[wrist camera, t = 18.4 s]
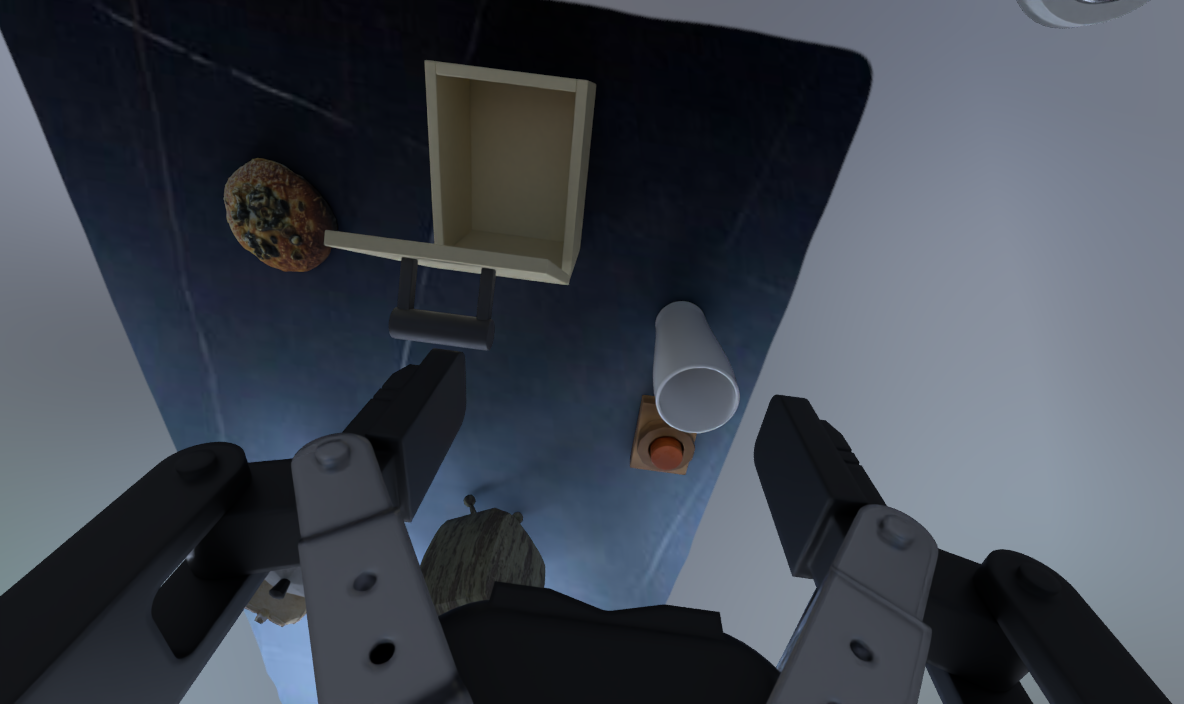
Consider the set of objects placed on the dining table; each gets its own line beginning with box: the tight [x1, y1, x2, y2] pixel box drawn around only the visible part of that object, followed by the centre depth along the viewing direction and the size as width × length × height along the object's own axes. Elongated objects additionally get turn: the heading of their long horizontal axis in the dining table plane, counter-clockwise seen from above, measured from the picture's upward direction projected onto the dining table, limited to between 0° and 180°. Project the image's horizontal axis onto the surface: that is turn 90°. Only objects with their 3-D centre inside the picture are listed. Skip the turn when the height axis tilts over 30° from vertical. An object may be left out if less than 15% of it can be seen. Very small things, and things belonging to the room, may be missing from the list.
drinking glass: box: [653, 301, 740, 433], centre depth 44 cm, size 7×7×15 cm
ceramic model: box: [245, 579, 307, 627], centre depth 70 cm, size 14×11×10 cm
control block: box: [630, 395, 697, 475], centre depth 56 cm, size 10×7×4 cm
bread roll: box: [223, 158, 338, 272], centre depth 46 cm, size 11×11×5 cm
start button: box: [650, 436, 683, 470], centre depth 54 cm, size 4×4×2 cm
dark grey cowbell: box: [420, 495, 545, 616], centre depth 56 cm, size 14×9×25 cm, turn 23°
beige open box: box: [425, 60, 596, 277], centre depth 40 cm, size 15×12×9 cm
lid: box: [324, 230, 570, 351], centre depth 32 cm, size 15×12×5 cm
